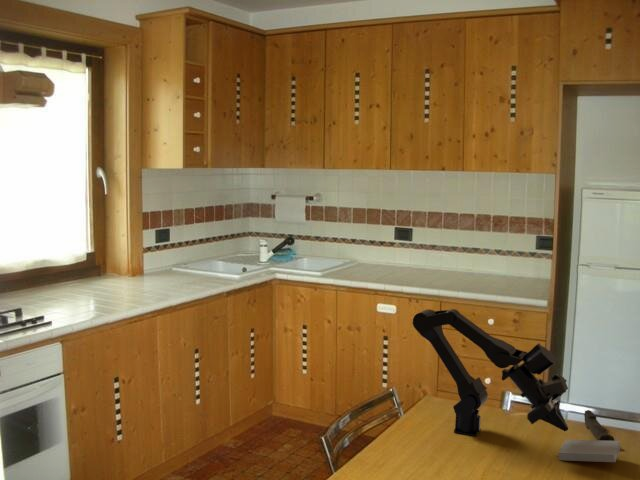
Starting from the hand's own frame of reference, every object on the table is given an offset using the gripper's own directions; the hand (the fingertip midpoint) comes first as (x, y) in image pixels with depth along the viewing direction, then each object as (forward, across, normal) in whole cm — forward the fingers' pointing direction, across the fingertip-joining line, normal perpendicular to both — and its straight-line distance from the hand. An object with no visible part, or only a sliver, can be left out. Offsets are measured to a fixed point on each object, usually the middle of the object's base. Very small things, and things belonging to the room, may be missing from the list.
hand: (566, 430), depth 183 cm
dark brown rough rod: (+8, +19, +2) cm, 21 cm away
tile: (+4, 0, +5) cm, 6 cm away
